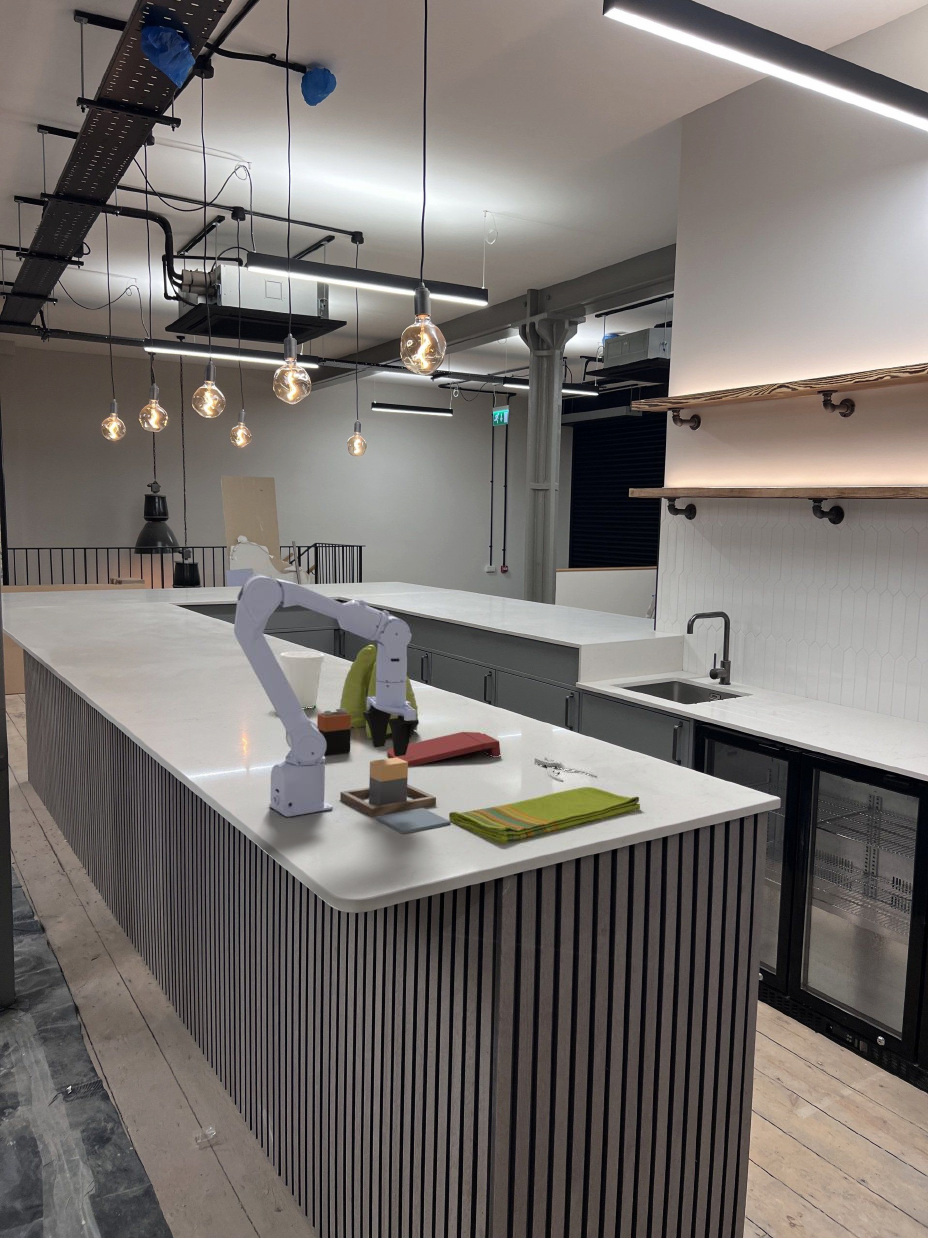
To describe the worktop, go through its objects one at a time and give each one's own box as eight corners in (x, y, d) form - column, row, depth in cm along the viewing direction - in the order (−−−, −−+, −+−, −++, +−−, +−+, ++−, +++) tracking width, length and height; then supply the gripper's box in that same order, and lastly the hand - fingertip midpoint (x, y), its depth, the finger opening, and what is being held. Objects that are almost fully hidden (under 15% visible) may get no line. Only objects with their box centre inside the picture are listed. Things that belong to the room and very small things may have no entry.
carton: (404, 784, 196) (504, 759, 206) (401, 762, 195) (502, 738, 205) (386, 770, 207) (482, 747, 217) (383, 749, 206) (480, 727, 216)
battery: (351, 752, 206) (352, 710, 205) (324, 756, 202) (325, 713, 201) (342, 748, 210) (342, 707, 209) (316, 752, 206) (316, 709, 205)
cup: (315, 712, 251) (316, 658, 249) (273, 709, 252) (273, 655, 251) (328, 703, 263) (329, 652, 261) (288, 701, 265) (289, 650, 263)
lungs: (429, 736, 226) (432, 642, 223) (375, 743, 217) (377, 645, 215) (382, 717, 246) (384, 631, 244) (331, 722, 238) (332, 633, 235)
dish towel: (445, 823, 160) (446, 805, 160) (584, 793, 182) (585, 777, 182) (501, 848, 148) (501, 829, 148) (642, 813, 170) (643, 796, 170)
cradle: (372, 817, 160) (372, 808, 160) (340, 799, 170) (340, 792, 170) (435, 805, 169) (436, 797, 169) (402, 789, 178) (402, 782, 178)
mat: (403, 833, 152) (403, 831, 152) (376, 819, 159) (376, 816, 159) (450, 824, 158) (450, 821, 158) (422, 810, 165) (422, 808, 165)
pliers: (560, 776, 188) (522, 759, 201) (560, 783, 188) (522, 766, 201) (598, 771, 193) (558, 755, 206) (597, 778, 193) (558, 762, 206)
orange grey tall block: (379, 807, 166) (380, 766, 165) (368, 802, 169) (370, 761, 168) (406, 803, 170) (408, 762, 169) (395, 797, 173) (396, 757, 172)
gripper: (430, 684, 164) (428, 756, 165) (389, 673, 175) (387, 740, 177) (397, 687, 159) (395, 761, 161) (358, 675, 171) (356, 744, 172)
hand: (389, 751), depth 168 cm, fingers open, 7 cm apart
